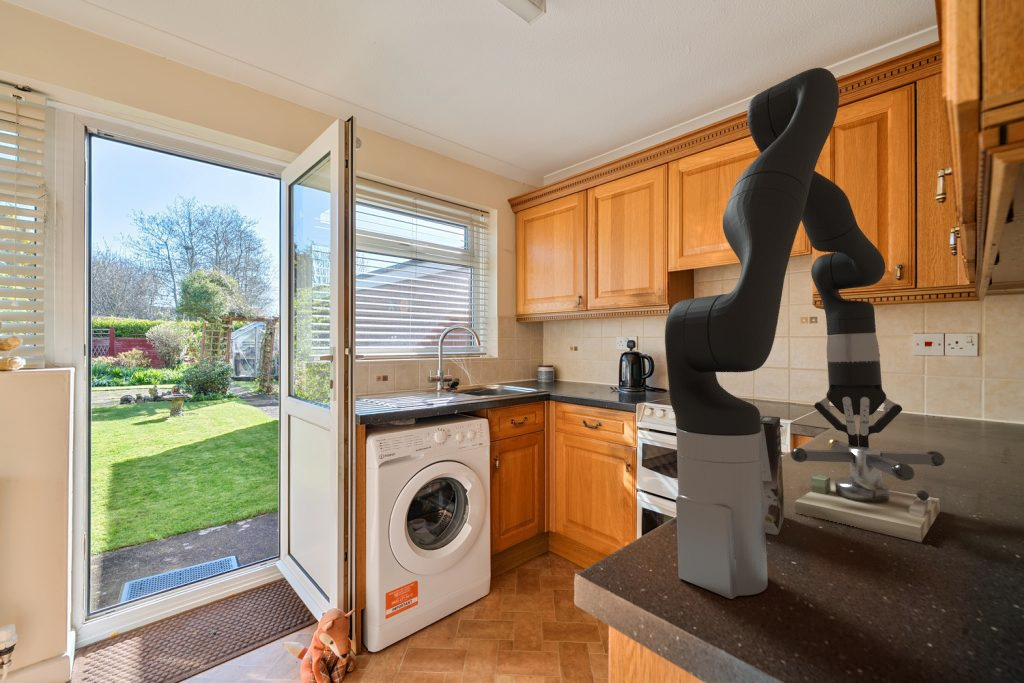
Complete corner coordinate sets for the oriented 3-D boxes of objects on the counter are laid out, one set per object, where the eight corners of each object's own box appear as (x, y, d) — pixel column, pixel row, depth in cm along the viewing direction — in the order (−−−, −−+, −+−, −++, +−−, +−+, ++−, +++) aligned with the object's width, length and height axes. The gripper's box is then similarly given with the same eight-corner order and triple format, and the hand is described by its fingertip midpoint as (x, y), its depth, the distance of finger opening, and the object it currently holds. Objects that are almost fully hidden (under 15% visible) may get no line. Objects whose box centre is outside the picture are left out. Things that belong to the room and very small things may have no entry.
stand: (920, 542, 59) (919, 509, 59) (795, 513, 70) (794, 486, 71) (939, 511, 70) (938, 483, 70) (829, 490, 82) (828, 467, 82)
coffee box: (780, 536, 62) (775, 423, 62) (730, 526, 66) (726, 420, 66) (786, 517, 69) (781, 416, 70) (741, 509, 73) (737, 413, 74)
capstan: (1007, 527, 58) (1003, 468, 58) (823, 517, 62) (820, 462, 63) (901, 481, 79) (898, 438, 79) (770, 476, 83) (768, 436, 84)
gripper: (807, 360, 80) (813, 455, 79) (903, 358, 71) (911, 464, 70) (810, 360, 85) (816, 448, 85) (899, 357, 77) (907, 455, 76)
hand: (859, 455), depth 78 cm, fingers closed
